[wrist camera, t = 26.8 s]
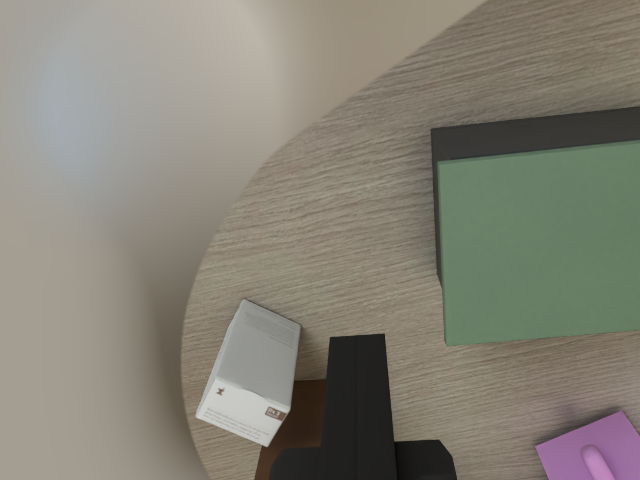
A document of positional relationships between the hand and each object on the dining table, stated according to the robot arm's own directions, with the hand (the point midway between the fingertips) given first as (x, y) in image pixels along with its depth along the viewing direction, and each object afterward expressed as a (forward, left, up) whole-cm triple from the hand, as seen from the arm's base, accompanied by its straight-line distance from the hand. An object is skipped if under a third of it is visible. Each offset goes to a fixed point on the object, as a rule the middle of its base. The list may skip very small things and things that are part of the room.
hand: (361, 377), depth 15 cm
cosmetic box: (+16, -10, -31) cm, 36 cm away
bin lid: (+6, +13, -20) cm, 25 cm away
